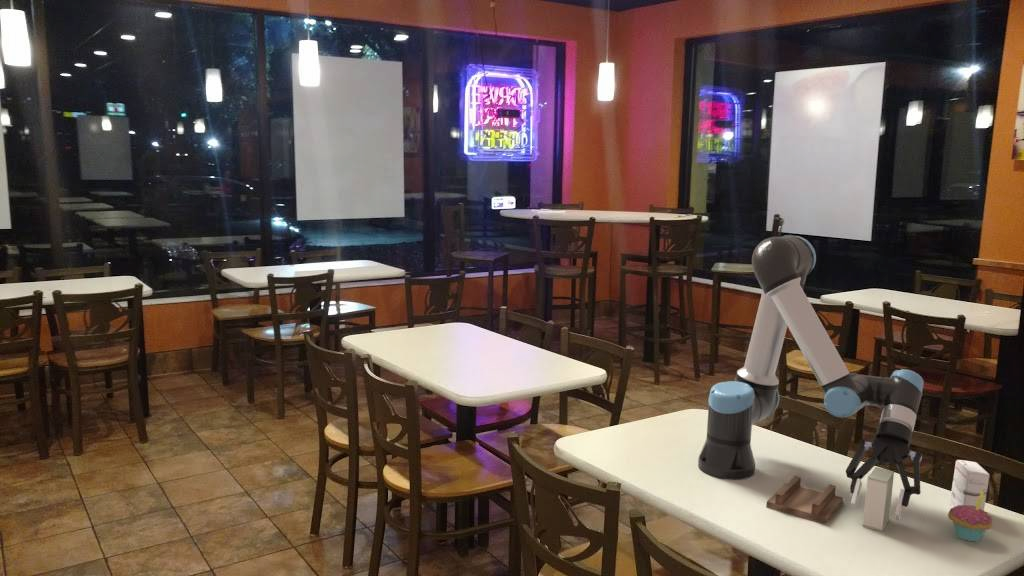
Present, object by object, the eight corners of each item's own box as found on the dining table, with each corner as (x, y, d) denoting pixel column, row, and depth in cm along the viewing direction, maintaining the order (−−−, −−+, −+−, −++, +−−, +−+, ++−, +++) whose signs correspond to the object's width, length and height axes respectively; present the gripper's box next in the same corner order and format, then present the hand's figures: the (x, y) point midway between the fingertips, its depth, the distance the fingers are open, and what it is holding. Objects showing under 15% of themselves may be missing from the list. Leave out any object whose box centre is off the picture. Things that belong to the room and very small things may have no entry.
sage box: (862, 526, 177) (867, 477, 175) (870, 514, 183) (875, 467, 181) (881, 531, 174) (887, 481, 173) (889, 519, 181) (894, 471, 179)
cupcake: (987, 533, 175) (993, 483, 173) (992, 549, 167) (999, 497, 165) (944, 525, 178) (950, 476, 177) (947, 540, 171) (953, 489, 169)
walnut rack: (766, 507, 186) (767, 491, 185) (785, 488, 197) (787, 473, 197) (826, 523, 177) (827, 507, 177) (842, 503, 189) (844, 487, 189)
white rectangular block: (984, 521, 181) (990, 473, 179) (961, 519, 182) (967, 471, 180) (970, 506, 190) (976, 460, 188) (948, 504, 191) (953, 458, 189)
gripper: (946, 445, 182) (927, 532, 172) (850, 426, 195) (828, 505, 184) (945, 429, 177) (926, 517, 167) (847, 410, 190) (824, 491, 179)
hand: (874, 511), depth 176 cm, fingers open, 9 cm apart
